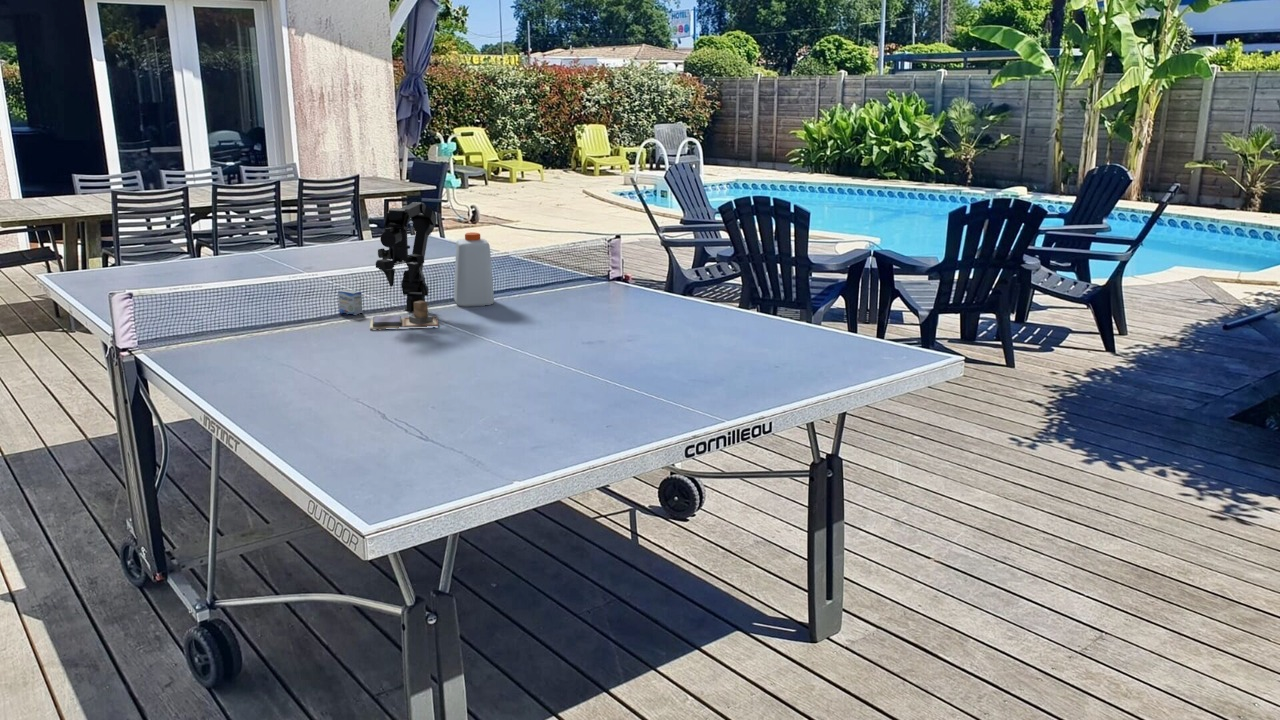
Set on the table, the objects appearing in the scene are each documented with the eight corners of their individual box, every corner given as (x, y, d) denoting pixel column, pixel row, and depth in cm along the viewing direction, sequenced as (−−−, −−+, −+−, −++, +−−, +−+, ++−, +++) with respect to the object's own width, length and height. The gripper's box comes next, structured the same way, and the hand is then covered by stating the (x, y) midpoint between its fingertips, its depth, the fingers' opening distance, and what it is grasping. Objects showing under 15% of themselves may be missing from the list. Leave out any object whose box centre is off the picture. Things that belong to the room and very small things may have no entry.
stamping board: (436, 320, 376) (436, 313, 375) (438, 328, 365) (438, 321, 364) (370, 321, 370) (370, 315, 370) (370, 330, 359) (369, 323, 359)
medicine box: (338, 313, 382) (337, 290, 379) (347, 310, 386) (346, 288, 383) (354, 316, 378) (353, 293, 376) (363, 313, 382) (361, 291, 380)
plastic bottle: (452, 299, 409) (450, 230, 401) (489, 297, 413) (488, 230, 405) (457, 307, 395) (455, 237, 387) (495, 306, 399) (494, 236, 391)
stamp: (421, 319, 373) (421, 299, 371) (432, 321, 369) (432, 301, 367) (409, 321, 368) (408, 302, 366) (420, 324, 365) (419, 304, 363)
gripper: (404, 237, 380) (406, 277, 385) (364, 243, 366) (366, 285, 370) (424, 240, 374) (426, 281, 379) (384, 247, 360) (386, 289, 364)
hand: (401, 284), depth 373 cm, fingers open, 9 cm apart
